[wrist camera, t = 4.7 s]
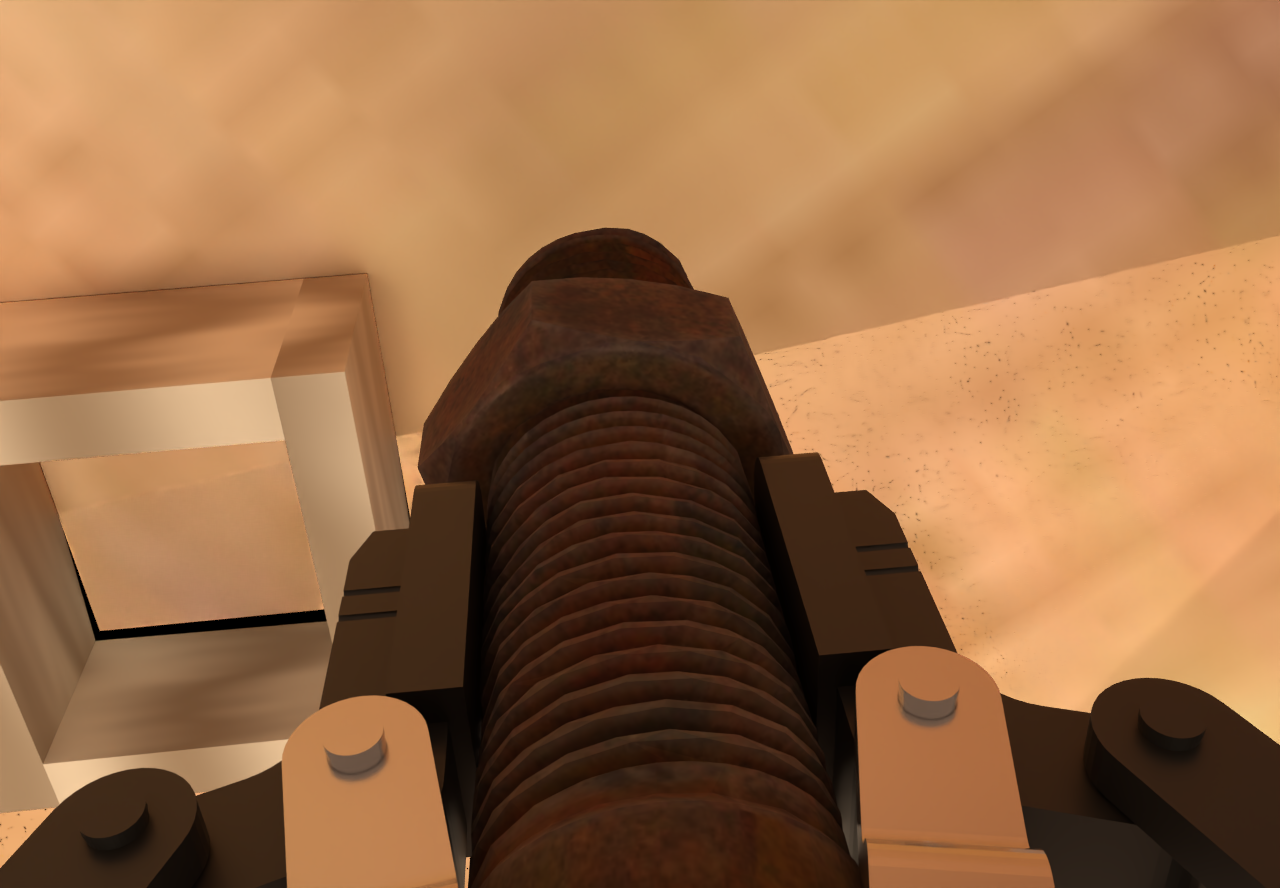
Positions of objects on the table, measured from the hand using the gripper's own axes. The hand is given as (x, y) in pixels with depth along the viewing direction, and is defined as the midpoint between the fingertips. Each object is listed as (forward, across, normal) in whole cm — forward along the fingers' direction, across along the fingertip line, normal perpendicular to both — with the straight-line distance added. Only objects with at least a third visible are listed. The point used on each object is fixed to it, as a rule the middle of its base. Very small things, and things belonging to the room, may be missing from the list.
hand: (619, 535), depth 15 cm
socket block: (+16, +10, +9) cm, 21 cm away
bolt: (+6, 0, 0) cm, 6 cm away
